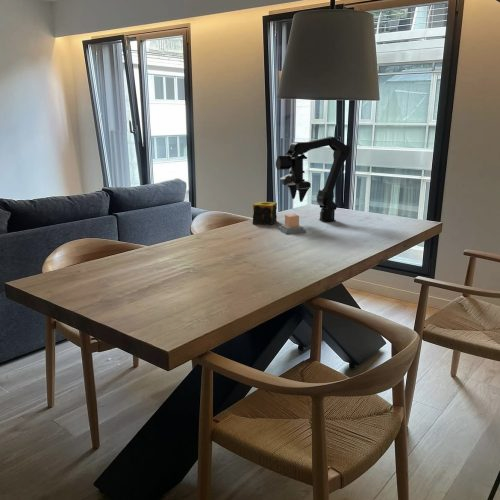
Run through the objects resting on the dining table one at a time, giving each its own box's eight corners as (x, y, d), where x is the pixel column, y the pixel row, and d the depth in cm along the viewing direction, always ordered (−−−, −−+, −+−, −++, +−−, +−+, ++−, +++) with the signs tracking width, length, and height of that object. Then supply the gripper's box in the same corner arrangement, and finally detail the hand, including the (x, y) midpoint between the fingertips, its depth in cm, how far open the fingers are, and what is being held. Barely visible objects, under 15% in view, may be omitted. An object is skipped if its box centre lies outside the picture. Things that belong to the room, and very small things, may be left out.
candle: (252, 224, 246) (252, 204, 243) (257, 220, 255) (257, 201, 252) (272, 225, 243) (272, 205, 240) (276, 221, 252) (277, 202, 249)
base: (297, 228, 236) (297, 223, 235) (306, 232, 227) (306, 227, 226) (278, 229, 233) (278, 224, 233) (285, 234, 224) (285, 228, 223)
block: (294, 224, 232) (294, 214, 231) (298, 226, 228) (299, 215, 227) (284, 225, 231) (285, 214, 230) (288, 227, 226) (289, 216, 225)
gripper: (274, 167, 245) (275, 198, 249) (289, 171, 228) (289, 204, 232) (295, 166, 248) (295, 197, 253) (311, 170, 231) (311, 202, 236)
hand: (297, 200), depth 243 cm, fingers open, 9 cm apart
